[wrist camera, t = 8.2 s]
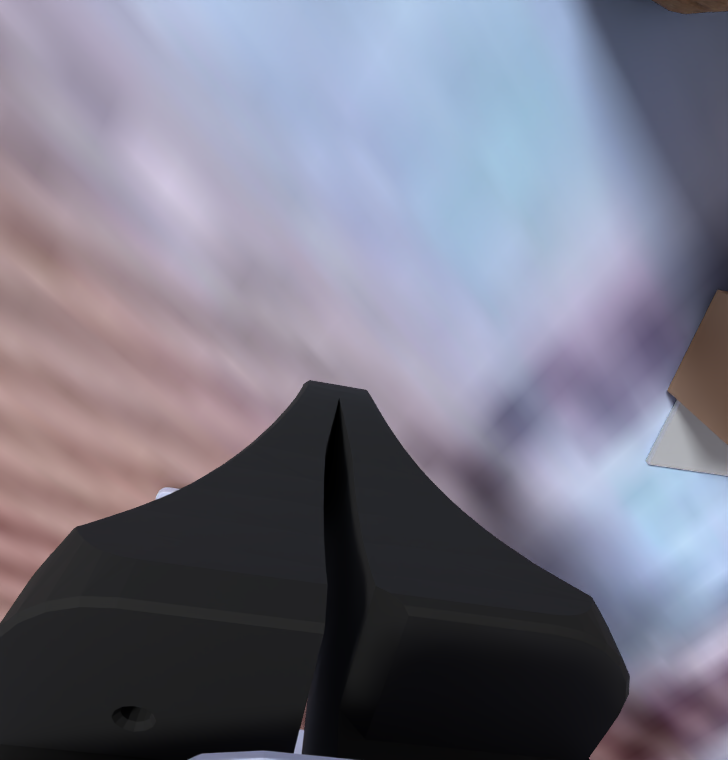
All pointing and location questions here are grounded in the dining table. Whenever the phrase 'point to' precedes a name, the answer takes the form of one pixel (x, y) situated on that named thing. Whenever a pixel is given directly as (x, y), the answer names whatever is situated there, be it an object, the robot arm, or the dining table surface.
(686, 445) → the mat
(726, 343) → the walnut pillar
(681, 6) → the block
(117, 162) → the dining table surface
